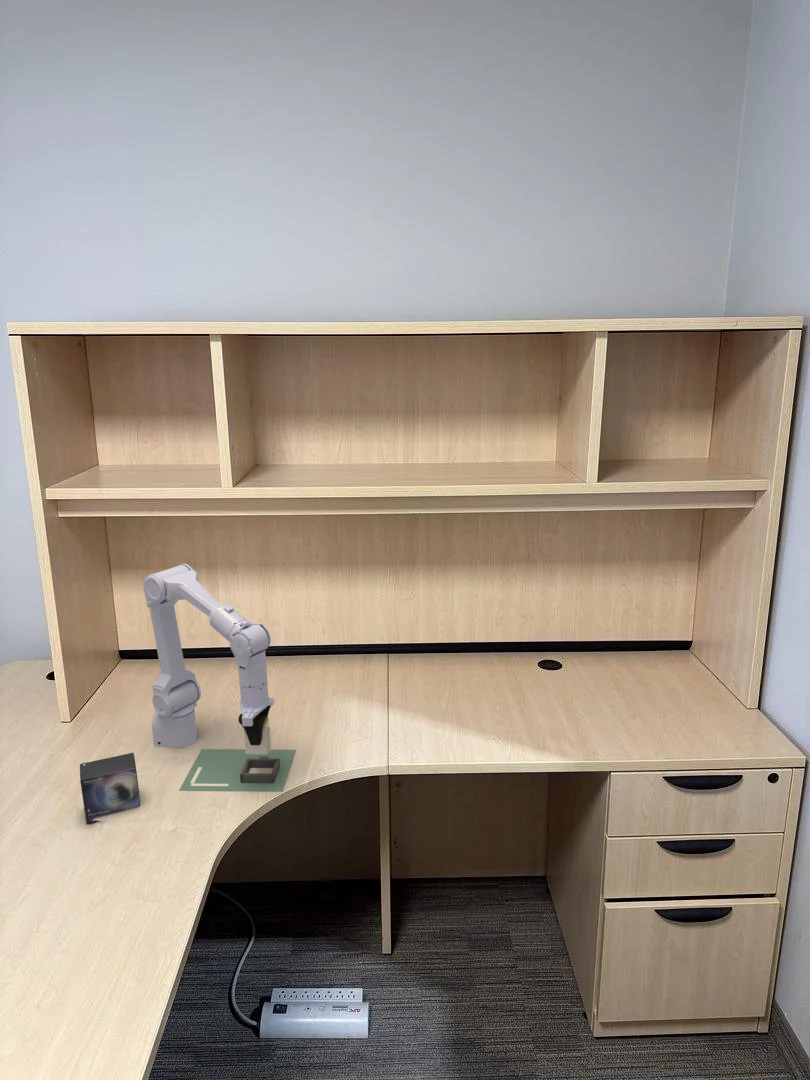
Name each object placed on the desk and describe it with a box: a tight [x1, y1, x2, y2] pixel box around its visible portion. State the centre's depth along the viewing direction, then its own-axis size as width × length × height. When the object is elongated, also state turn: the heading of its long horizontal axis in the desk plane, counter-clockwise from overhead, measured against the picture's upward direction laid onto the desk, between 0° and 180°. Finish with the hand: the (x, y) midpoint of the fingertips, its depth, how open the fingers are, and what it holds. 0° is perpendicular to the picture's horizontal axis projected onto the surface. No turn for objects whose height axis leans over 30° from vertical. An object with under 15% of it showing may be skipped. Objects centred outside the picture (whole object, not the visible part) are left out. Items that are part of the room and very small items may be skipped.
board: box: [178, 748, 297, 793], centre depth 162 cm, size 22×16×3 cm
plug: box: [243, 716, 272, 754], centre depth 158 cm, size 5×4×7 cm
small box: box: [79, 752, 141, 825], centre depth 150 cm, size 11×6×10 cm, turn 114°
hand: (257, 739), depth 158 cm, fingers closed on plug, 3 cm apart
